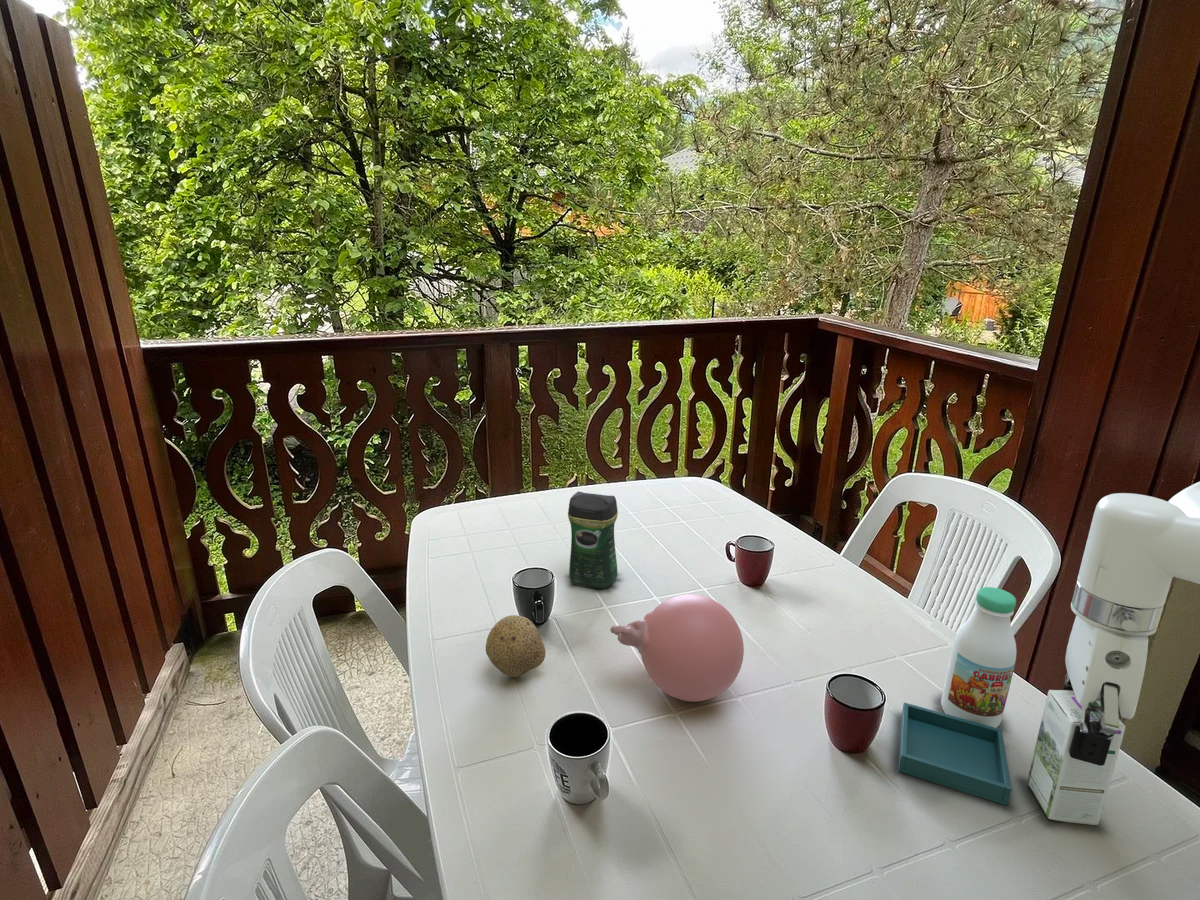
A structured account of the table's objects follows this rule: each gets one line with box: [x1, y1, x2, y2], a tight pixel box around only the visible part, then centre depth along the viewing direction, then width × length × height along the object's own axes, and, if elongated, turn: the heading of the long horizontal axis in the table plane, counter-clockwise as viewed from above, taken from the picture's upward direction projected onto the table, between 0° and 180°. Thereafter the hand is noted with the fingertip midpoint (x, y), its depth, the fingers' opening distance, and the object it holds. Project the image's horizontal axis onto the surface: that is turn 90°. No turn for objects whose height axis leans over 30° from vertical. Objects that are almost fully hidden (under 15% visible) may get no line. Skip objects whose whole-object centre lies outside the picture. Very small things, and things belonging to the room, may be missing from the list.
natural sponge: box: [485, 614, 546, 678], centre depth 100 cm, size 9×9×10 cm
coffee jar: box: [567, 491, 619, 589], centre depth 127 cm, size 10×8×19 cm
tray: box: [898, 702, 1012, 807], centre depth 85 cm, size 12×11×3 cm
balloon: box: [610, 593, 745, 703], centre depth 96 cm, size 15×20×15 cm
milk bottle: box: [940, 586, 1017, 728], centre depth 90 cm, size 8×8×20 cm
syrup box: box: [1026, 689, 1127, 826], centre depth 76 cm, size 6×6×14 cm
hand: (1079, 736), depth 75 cm, fingers closed on syrup box, 6 cm apart
